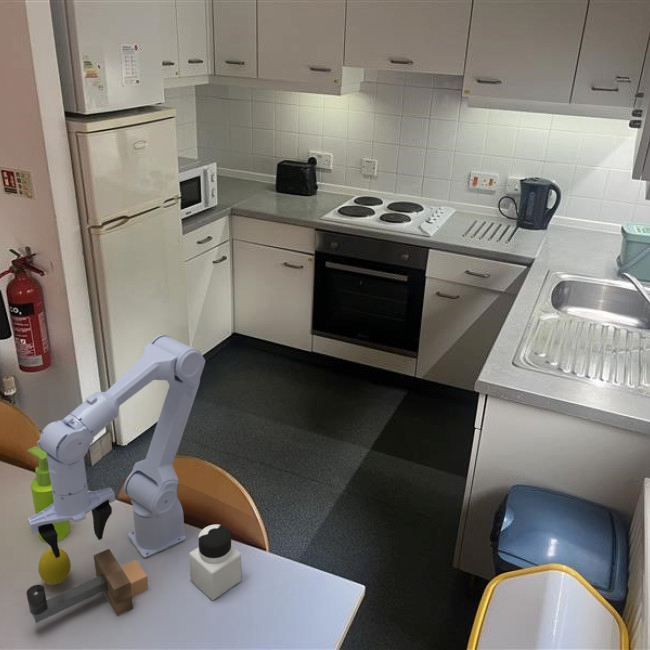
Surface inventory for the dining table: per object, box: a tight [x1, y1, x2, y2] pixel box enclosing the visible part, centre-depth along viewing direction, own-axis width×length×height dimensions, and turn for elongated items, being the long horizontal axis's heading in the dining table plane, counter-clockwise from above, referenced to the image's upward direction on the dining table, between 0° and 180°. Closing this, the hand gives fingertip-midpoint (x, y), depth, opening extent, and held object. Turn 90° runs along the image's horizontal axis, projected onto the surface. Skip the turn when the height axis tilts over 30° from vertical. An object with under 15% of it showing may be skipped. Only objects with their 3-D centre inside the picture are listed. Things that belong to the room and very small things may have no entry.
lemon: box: [37, 547, 71, 585], centre depth 120 cm, size 6×6×8 cm
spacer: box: [120, 559, 149, 597], centre depth 121 cm, size 4×5×4 cm
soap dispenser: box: [26, 445, 71, 544], centre depth 129 cm, size 6×7×20 cm
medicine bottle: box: [188, 523, 242, 601], centre depth 121 cm, size 7×7×12 cm
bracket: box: [93, 548, 134, 617], centre depth 118 cm, size 3×10×6 cm, turn 38°
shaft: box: [26, 575, 108, 624], centre depth 113 cm, size 15×3×6 cm, turn 128°
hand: (77, 544), depth 116 cm, fingers open, 7 cm apart
